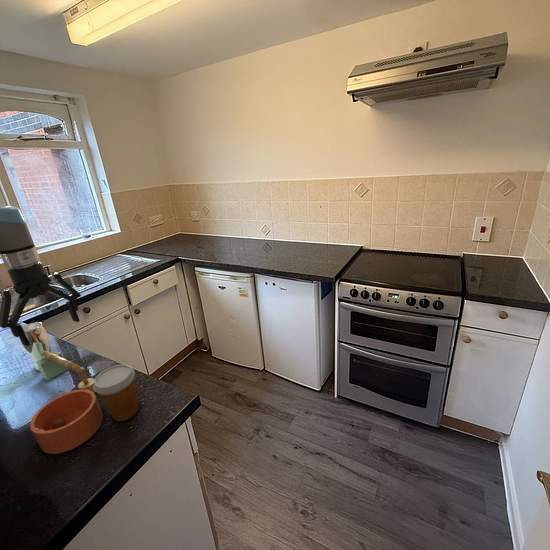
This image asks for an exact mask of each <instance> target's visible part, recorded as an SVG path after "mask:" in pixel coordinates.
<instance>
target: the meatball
mask: <svg viewBox="0 0 550 550" xmlns="http://www.w3.org/2000/svg"><path fill="white" fill-rule="evenodd" d="M65 425H66V421H65V420H64V419H62V418H60V419H57V420H55V421H54V422H53V424H52V429H53V430H54V429H57V428H60V427H63V426H65Z"/></svg>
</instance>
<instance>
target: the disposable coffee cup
mask: <svg viewBox="0 0 550 550" xmlns="http://www.w3.org/2000/svg"><path fill="white" fill-rule="evenodd" d="M135 374H136V372H135V370H134V368H132V367H131V366H130V365H128V364H116V365H112V366H110V367H107V368H106V369H103V370H102V371H101V372H99V374H98V375H96V377H95V378H94V379H95V380H94V386H93V389H94V391H95V393H96V394H98V395H99V397H100V399H101V401H102V402H103V404H104V405H105V407H106V409H107V411H108V412H109V414H110V415H111V417H112V418H113V420H114V421H116V422H124V421H127V420H129V419H131V418H132V417H133V416H135V415H136V414H137V413H138V411H139V407H140V406H139V401H138V395H137V389H136V387H137V386H136V382H135V381H136V380H135Z"/></svg>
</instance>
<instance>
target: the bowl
mask: <svg viewBox="0 0 550 550" xmlns="http://www.w3.org/2000/svg"><path fill="white" fill-rule="evenodd" d="M60 418H62V419H64V420H65V421H66V425H65V426H63V427H60V428H57V429H54V430H53V429H52V424H53V422H54V421H55V420H57V419H60ZM103 420H104V414H103V411H102V408H101V405H100V403H99V401H98V398H97V396H96V394H95V393H94V392H92V391H90V390H83V389H82V390H79V389H76V390H71V391H69V392H66V393H63V394H60V395H59V396H57V397H54V398H53V399H51V400H50V401H48V402H46V403H45V404H44V405H43V406H41V408H39V409H38V410H37V411H36V413H35V414H34V415H33V416H32V418H31V420H30V422H29V428H30V432H31V433H32V435H33V436H34V439H35V440H36V442H37V445H38V446H39V448H40V449H41V451H42V452H43V453H45V454H49V455H57V454H62V453H67V452H68V451H71V450H73V449H76V448H78V447H79V446H81V445H82V444H84V443H86V441H88V440H89V439H90V438H92V436H94V435H95V434H96V433H97V431H98V430H99V428H101V425H102V423H103Z"/></svg>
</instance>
